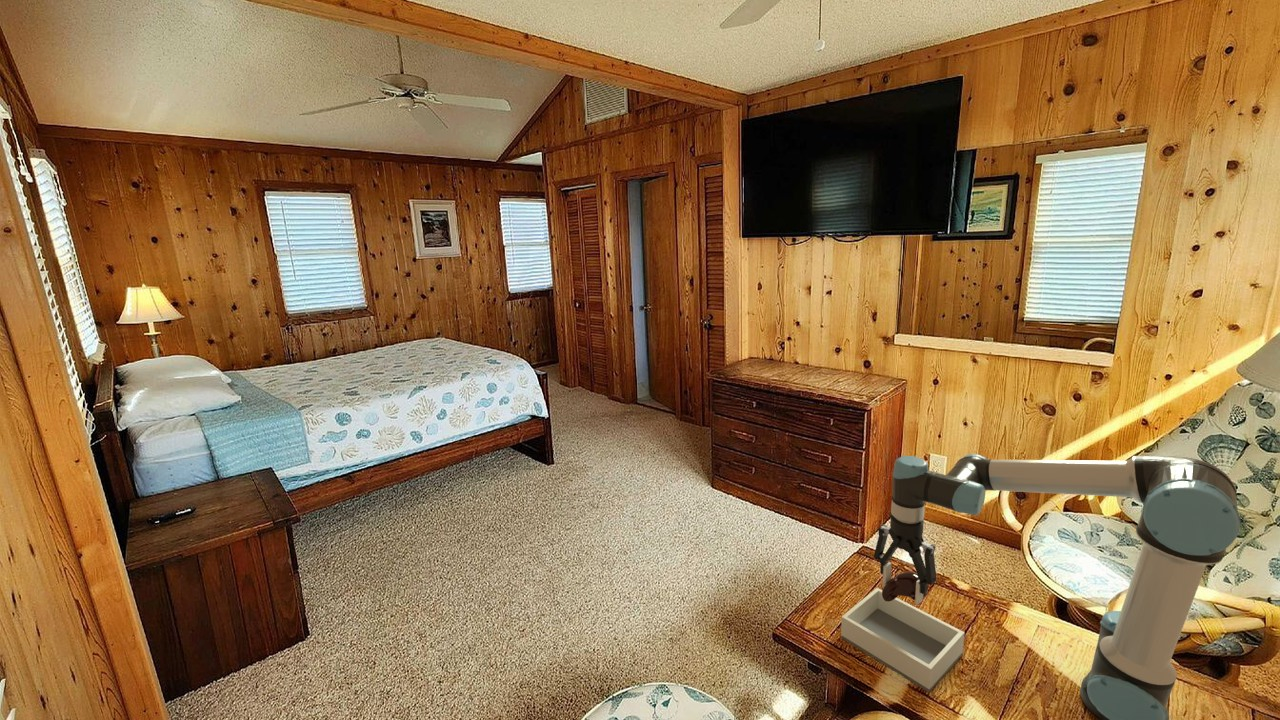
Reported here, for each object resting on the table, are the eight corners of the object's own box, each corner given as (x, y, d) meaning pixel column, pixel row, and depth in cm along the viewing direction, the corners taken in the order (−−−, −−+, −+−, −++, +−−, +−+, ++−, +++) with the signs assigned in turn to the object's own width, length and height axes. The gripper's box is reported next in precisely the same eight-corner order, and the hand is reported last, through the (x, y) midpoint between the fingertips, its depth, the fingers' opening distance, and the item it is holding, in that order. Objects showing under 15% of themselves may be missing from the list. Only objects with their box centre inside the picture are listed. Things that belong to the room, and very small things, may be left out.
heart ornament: (924, 594, 146) (935, 597, 136) (878, 600, 148) (886, 603, 138) (916, 569, 148) (927, 570, 139) (871, 575, 150) (878, 576, 141)
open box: (962, 654, 141) (964, 632, 140) (929, 692, 131) (931, 669, 129) (876, 607, 160) (876, 587, 158) (841, 638, 150) (841, 616, 148)
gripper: (957, 527, 130) (950, 607, 136) (876, 496, 146) (872, 569, 152) (943, 539, 126) (936, 621, 131) (860, 506, 142) (857, 580, 148)
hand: (902, 593), depth 142 cm, fingers closed on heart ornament, 8 cm apart
